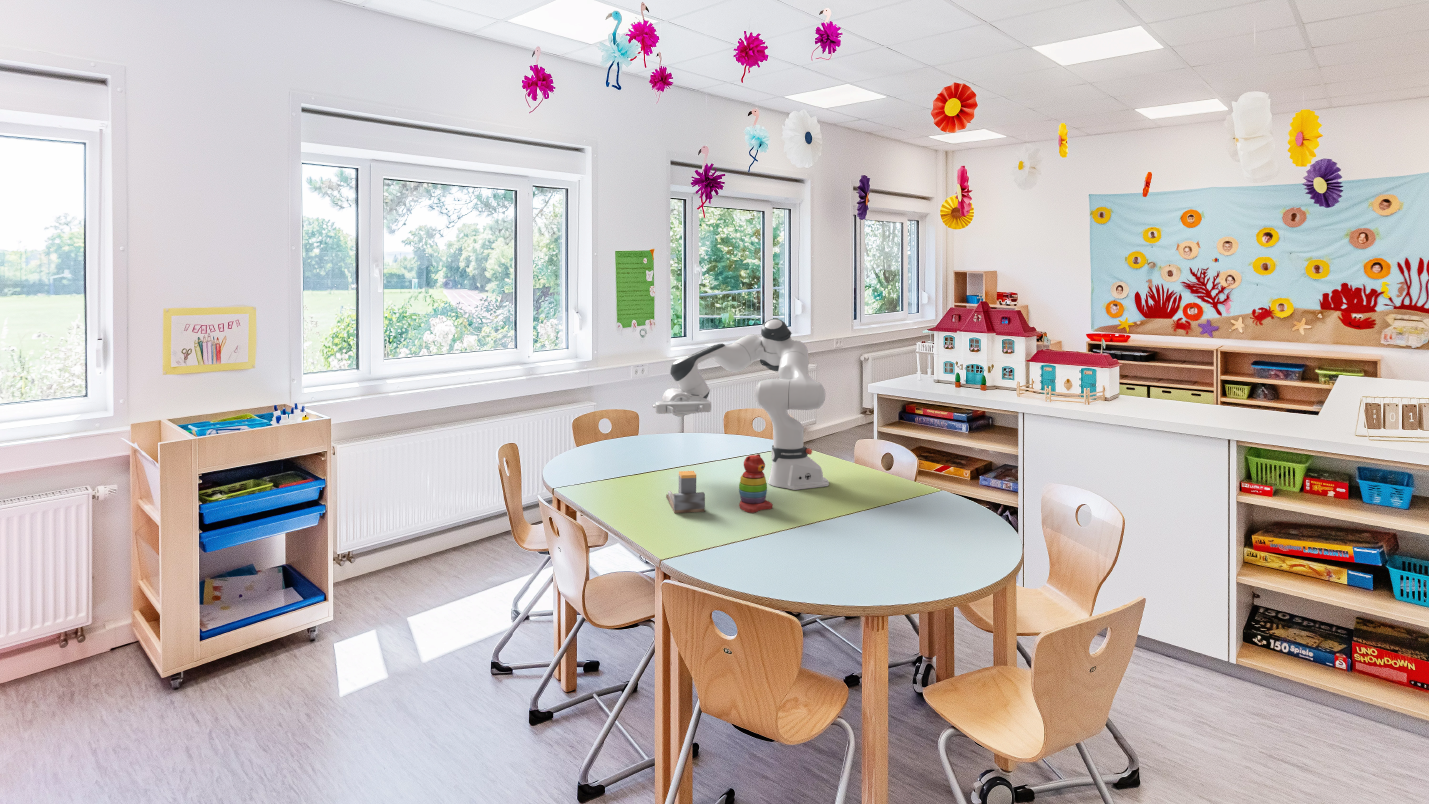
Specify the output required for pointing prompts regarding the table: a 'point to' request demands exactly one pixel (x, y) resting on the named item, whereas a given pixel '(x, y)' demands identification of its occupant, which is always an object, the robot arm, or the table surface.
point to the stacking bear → (753, 485)
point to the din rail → (686, 502)
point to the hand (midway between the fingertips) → (687, 410)
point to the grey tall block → (687, 482)
